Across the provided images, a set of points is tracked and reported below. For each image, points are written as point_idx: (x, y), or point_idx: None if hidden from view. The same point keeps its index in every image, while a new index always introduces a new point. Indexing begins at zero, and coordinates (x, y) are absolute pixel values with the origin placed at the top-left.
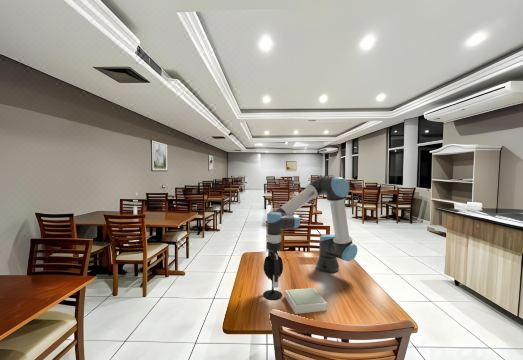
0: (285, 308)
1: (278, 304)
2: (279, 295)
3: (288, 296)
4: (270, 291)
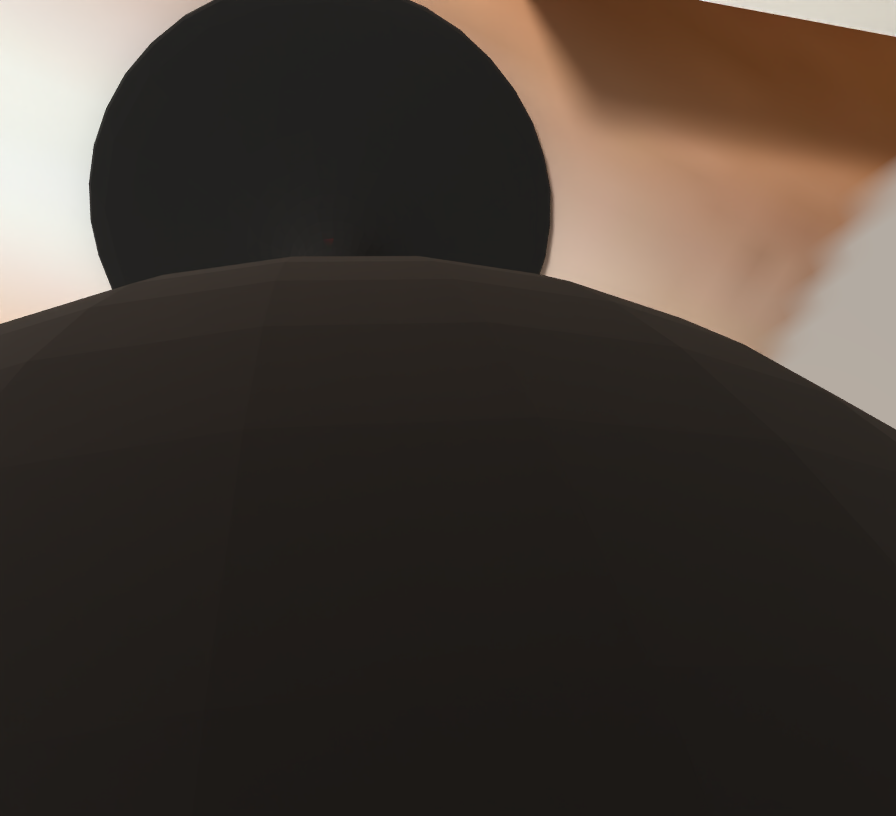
0: (886, 178)
1: (707, 251)
2: (450, 113)
3: (843, 26)
4: (213, 262)
